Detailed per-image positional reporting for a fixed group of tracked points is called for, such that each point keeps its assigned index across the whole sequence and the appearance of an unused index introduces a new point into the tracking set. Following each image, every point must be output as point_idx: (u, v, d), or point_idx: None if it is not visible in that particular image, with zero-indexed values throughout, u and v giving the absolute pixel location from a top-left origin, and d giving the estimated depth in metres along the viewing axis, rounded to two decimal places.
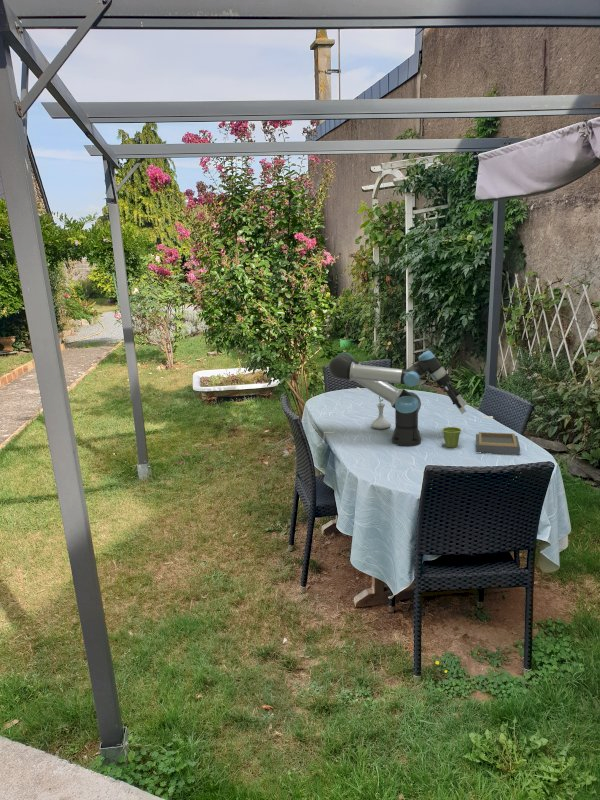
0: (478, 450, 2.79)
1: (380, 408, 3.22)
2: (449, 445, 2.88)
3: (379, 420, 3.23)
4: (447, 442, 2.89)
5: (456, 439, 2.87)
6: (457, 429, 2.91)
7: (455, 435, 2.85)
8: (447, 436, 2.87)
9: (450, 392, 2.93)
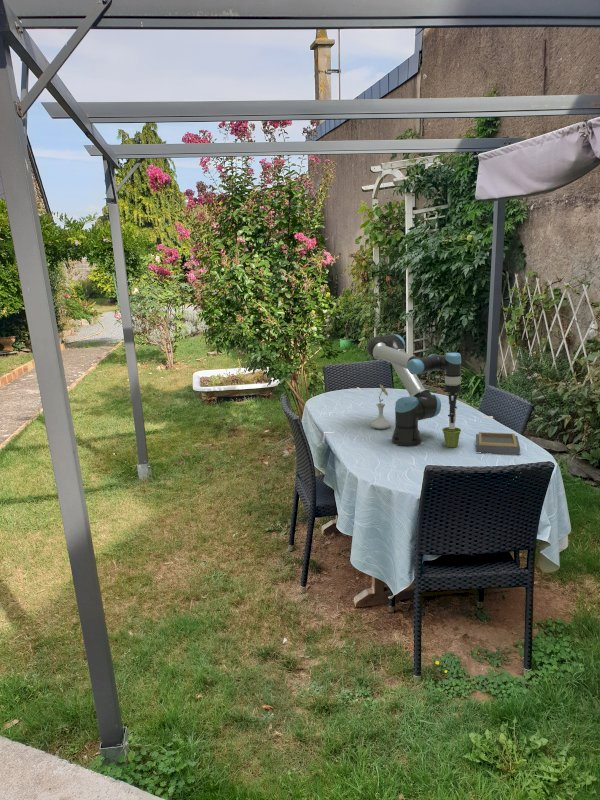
0: (478, 450, 2.79)
1: (380, 408, 3.22)
2: (449, 445, 2.88)
3: (379, 420, 3.23)
4: (447, 442, 2.89)
5: (456, 439, 2.87)
6: (457, 429, 2.91)
7: (455, 435, 2.85)
8: (447, 436, 2.87)
9: (453, 404, 2.78)
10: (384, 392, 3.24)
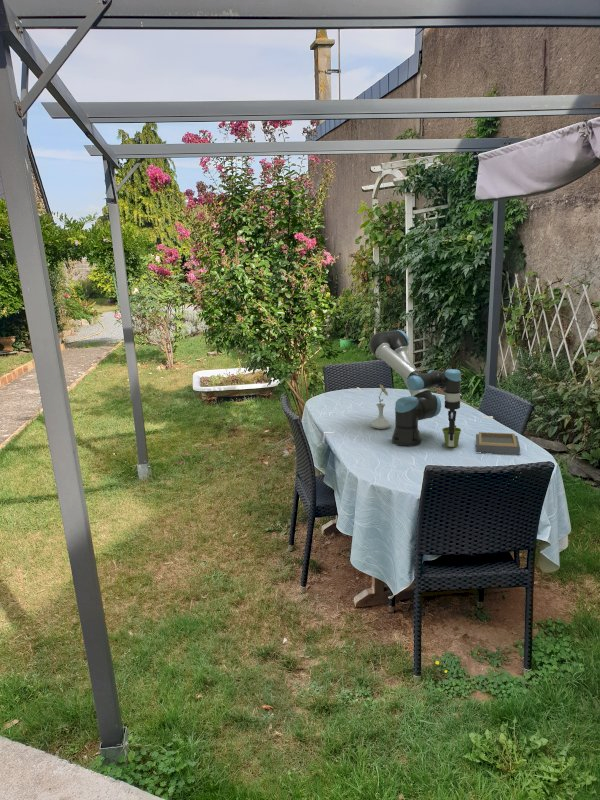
0: (478, 450, 2.79)
1: (380, 408, 3.22)
2: None
3: (379, 420, 3.23)
4: (447, 442, 2.89)
5: (456, 439, 2.87)
6: (457, 429, 2.91)
7: (455, 435, 2.85)
8: (447, 436, 2.87)
9: (452, 422, 2.81)
10: (384, 392, 3.24)
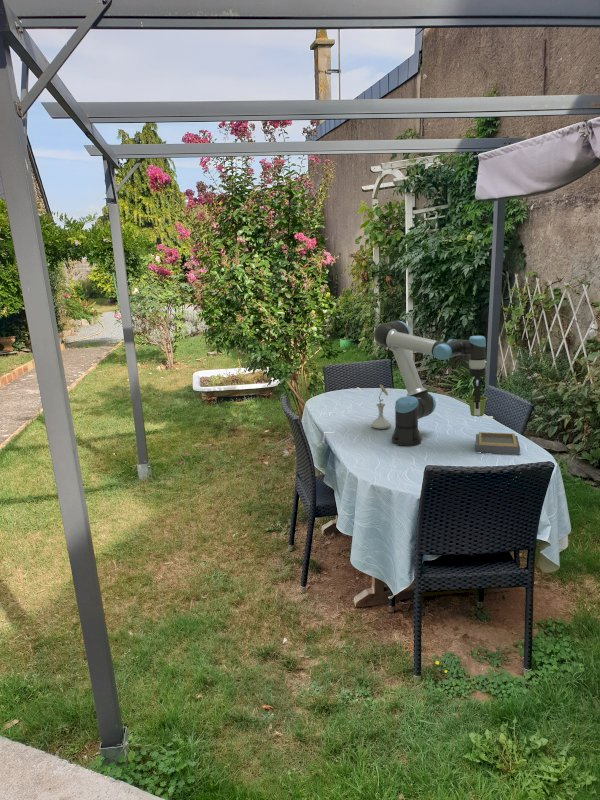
0: (478, 450, 2.79)
1: (380, 408, 3.22)
2: None
3: (379, 420, 3.23)
4: (472, 411, 2.81)
5: (482, 408, 2.79)
6: (483, 398, 2.83)
7: (481, 403, 2.77)
8: (472, 405, 2.79)
9: (478, 389, 2.73)
10: (384, 392, 3.24)
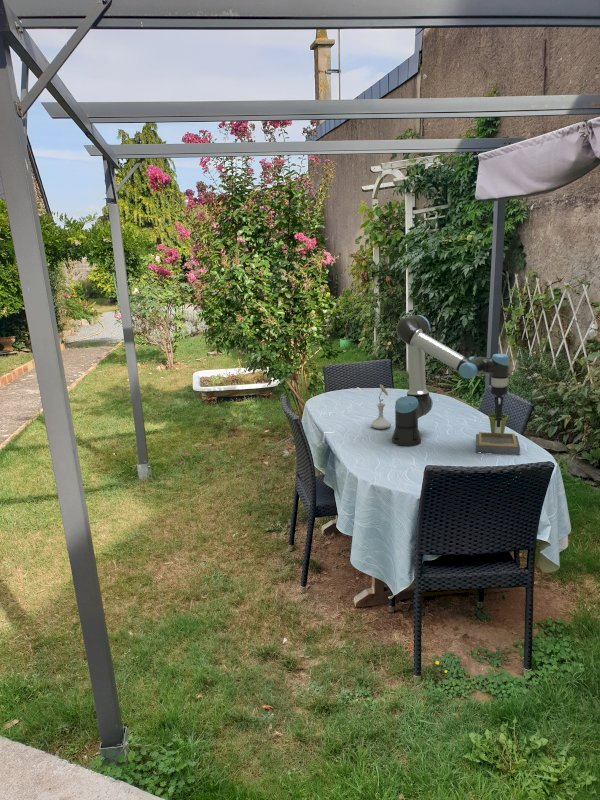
0: (478, 450, 2.79)
1: (380, 408, 3.22)
2: None
3: (379, 420, 3.23)
4: (493, 429, 2.80)
5: (503, 425, 2.79)
6: (503, 415, 2.83)
7: (502, 421, 2.77)
8: (493, 422, 2.79)
9: (500, 408, 2.73)
10: (384, 392, 3.24)
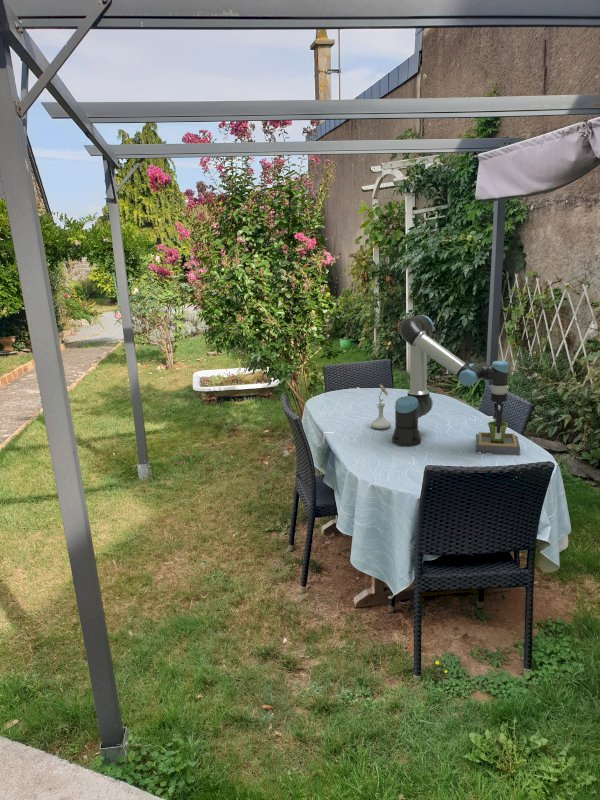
0: (478, 450, 2.79)
1: (380, 408, 3.22)
2: (495, 439, 2.81)
3: (379, 420, 3.23)
4: (493, 437, 2.81)
5: (502, 433, 2.80)
6: (503, 423, 2.84)
7: (502, 429, 2.78)
8: (493, 430, 2.80)
9: (500, 414, 2.73)
10: (384, 392, 3.24)
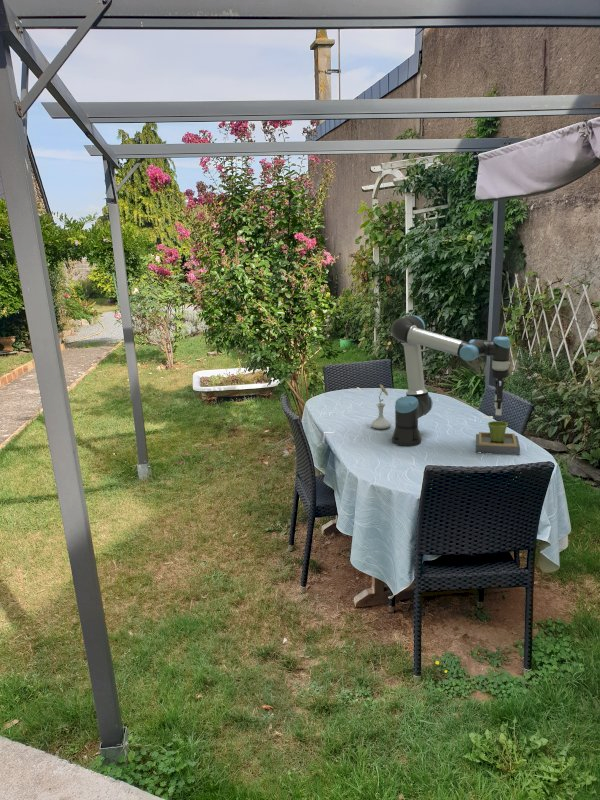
0: (478, 450, 2.79)
1: (380, 408, 3.22)
2: (495, 439, 2.81)
3: (379, 420, 3.23)
4: (493, 437, 2.81)
5: (502, 433, 2.80)
6: (503, 423, 2.84)
7: (502, 429, 2.78)
8: (493, 430, 2.80)
9: (501, 389, 2.70)
10: (384, 392, 3.24)
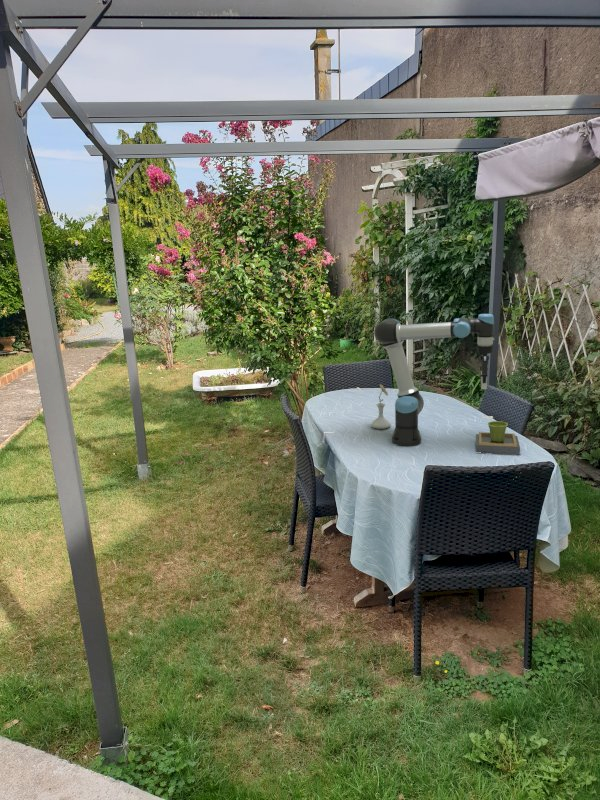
0: (478, 450, 2.79)
1: (380, 408, 3.22)
2: (495, 439, 2.81)
3: (379, 420, 3.23)
4: (493, 437, 2.81)
5: (502, 433, 2.80)
6: (503, 423, 2.84)
7: (502, 429, 2.78)
8: (493, 430, 2.80)
9: (485, 364, 2.81)
10: (384, 392, 3.24)
